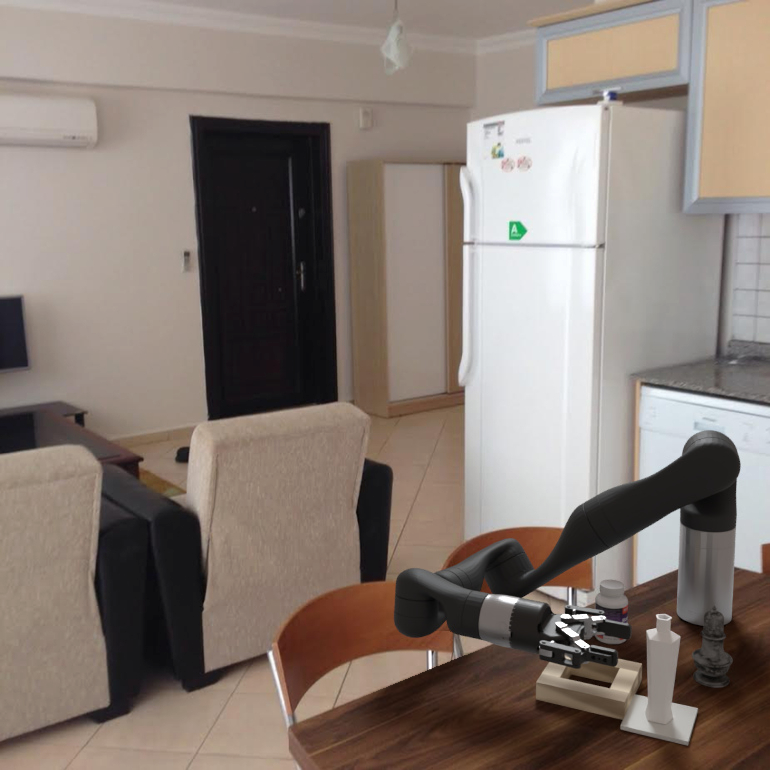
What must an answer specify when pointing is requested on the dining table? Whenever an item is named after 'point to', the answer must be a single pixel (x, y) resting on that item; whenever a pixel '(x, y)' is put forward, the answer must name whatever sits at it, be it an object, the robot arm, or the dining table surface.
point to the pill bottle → (612, 606)
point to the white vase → (661, 669)
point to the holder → (591, 687)
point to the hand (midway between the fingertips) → (624, 645)
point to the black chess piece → (712, 653)
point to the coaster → (672, 731)
